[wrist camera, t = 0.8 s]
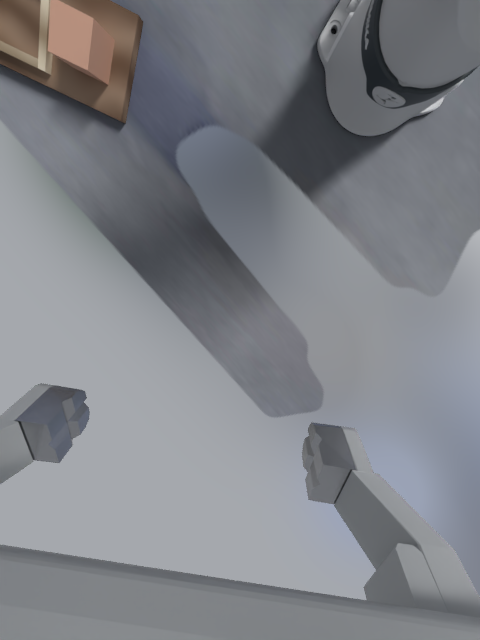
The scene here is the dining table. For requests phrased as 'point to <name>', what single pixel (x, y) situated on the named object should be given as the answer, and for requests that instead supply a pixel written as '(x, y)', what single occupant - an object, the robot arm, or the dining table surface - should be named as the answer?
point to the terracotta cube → (80, 41)
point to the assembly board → (42, 66)
